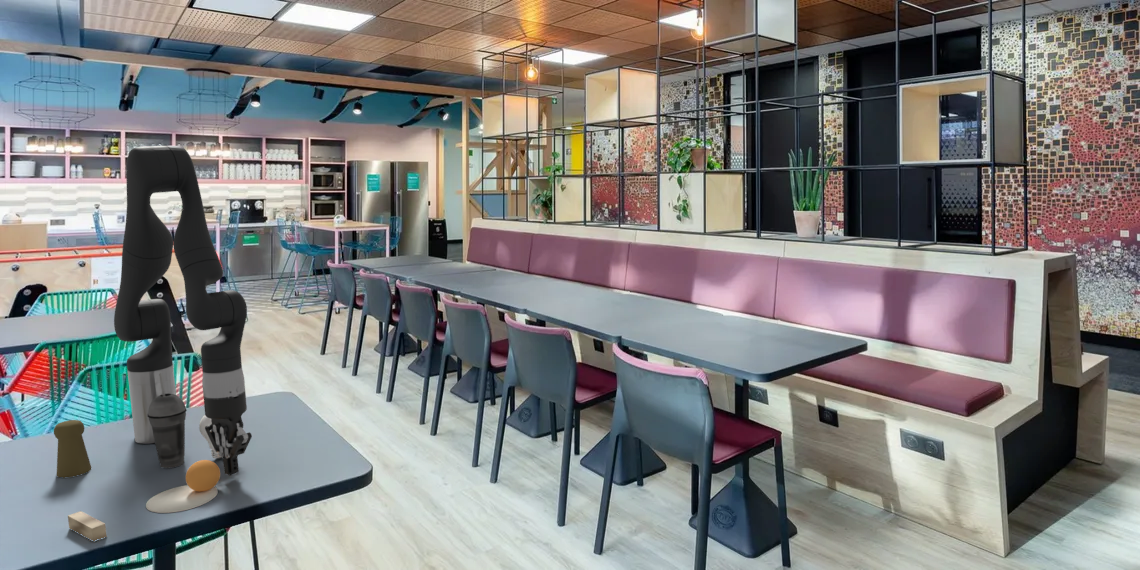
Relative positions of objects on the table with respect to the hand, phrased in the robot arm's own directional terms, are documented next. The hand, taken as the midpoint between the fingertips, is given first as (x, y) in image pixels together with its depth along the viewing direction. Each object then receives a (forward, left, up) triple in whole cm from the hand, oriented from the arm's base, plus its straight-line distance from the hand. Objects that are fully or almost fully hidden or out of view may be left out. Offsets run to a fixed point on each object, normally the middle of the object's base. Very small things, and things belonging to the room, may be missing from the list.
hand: (231, 473), depth 140 cm
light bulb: (-13, +5, -2) cm, 14 cm away
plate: (0, -10, -1) cm, 10 cm away
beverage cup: (-19, -2, -2) cm, 19 cm away
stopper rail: (0, -26, -1) cm, 26 cm away
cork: (-33, -15, -2) cm, 36 cm away
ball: (0, -6, +2) cm, 6 cm away
